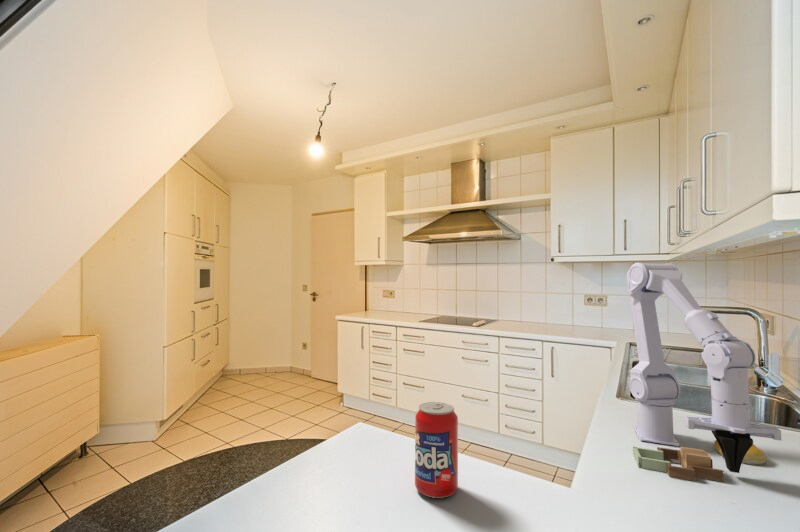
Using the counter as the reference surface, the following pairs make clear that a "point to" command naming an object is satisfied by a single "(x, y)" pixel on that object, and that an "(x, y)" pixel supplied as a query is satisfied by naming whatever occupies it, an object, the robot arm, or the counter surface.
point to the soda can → (436, 450)
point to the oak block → (694, 457)
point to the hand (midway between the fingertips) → (732, 470)
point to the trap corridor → (663, 460)
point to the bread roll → (749, 455)
